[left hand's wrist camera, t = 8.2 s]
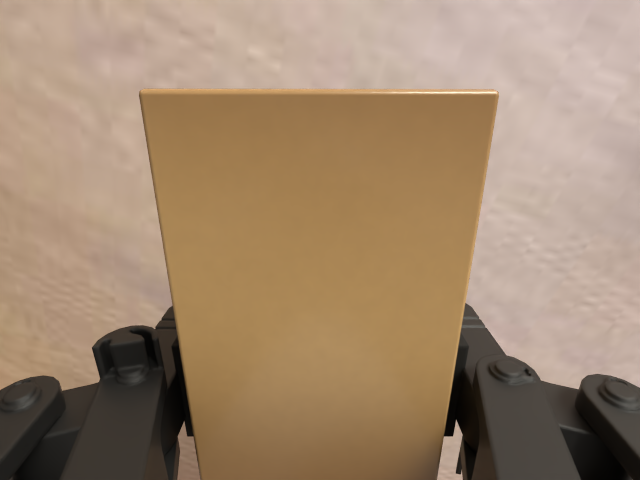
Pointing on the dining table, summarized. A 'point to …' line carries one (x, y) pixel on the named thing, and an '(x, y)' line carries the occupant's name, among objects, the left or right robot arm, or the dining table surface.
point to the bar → (318, 270)
